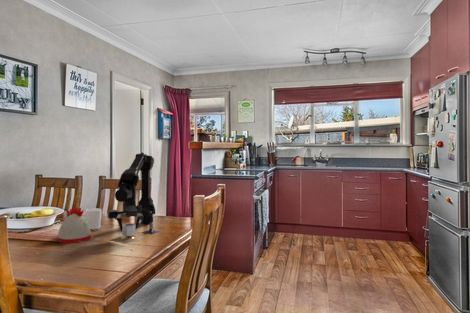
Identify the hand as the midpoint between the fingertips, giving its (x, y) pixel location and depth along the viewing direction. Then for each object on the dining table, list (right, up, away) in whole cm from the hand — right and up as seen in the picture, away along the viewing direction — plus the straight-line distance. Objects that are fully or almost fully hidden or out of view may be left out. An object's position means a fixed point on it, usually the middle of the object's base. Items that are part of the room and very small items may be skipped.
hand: (128, 230), depth 144 cm
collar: (0, -2, 0) cm, 2 cm away
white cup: (-25, -3, +17) cm, 31 cm away
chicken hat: (-25, -4, -1) cm, 25 cm away
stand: (+8, -4, +10) cm, 13 cm away
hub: (0, -4, 0) cm, 4 cm away
